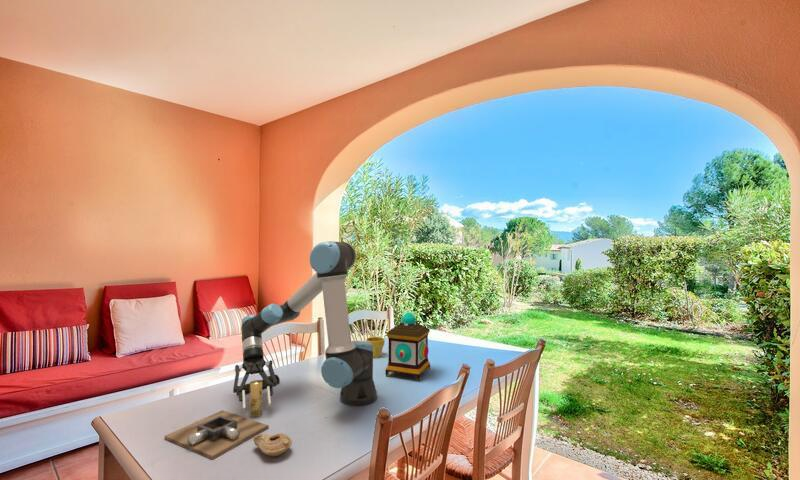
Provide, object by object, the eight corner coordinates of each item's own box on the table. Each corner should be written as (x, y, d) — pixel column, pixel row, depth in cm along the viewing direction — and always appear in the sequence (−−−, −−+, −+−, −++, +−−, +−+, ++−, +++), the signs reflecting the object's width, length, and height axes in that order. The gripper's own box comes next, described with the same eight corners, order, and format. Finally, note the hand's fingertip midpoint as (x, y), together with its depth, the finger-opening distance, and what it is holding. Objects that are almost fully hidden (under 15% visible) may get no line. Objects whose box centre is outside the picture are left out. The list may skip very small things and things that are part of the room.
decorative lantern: (381, 377, 176) (381, 314, 177) (397, 364, 195) (397, 307, 195) (421, 383, 169) (421, 317, 169) (433, 370, 187) (434, 310, 187)
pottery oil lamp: (263, 439, 119) (275, 418, 120) (287, 463, 113) (299, 441, 114) (243, 442, 111) (255, 420, 112) (267, 468, 105) (280, 444, 106)
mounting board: (268, 428, 127) (268, 425, 127) (212, 459, 108) (212, 456, 108) (222, 412, 138) (222, 410, 138) (164, 439, 119) (164, 435, 119)
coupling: (264, 413, 138) (265, 381, 138) (255, 418, 134) (255, 385, 134) (256, 411, 140) (256, 379, 140) (246, 415, 136) (247, 383, 136)
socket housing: (247, 433, 121) (247, 424, 121) (209, 454, 109) (209, 443, 109) (220, 424, 127) (220, 415, 127) (182, 442, 116) (182, 432, 116)
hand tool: (238, 397, 153) (238, 386, 153) (235, 394, 156) (235, 383, 156) (282, 385, 166) (282, 375, 166) (278, 383, 169) (278, 373, 169)
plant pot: (383, 359, 204) (383, 341, 204) (365, 358, 204) (365, 341, 204) (384, 353, 214) (384, 336, 214) (367, 353, 215) (367, 336, 215)
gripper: (278, 352, 155) (285, 406, 141) (224, 359, 146) (224, 417, 131) (280, 343, 151) (287, 397, 136) (224, 349, 141) (225, 408, 127)
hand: (256, 407), depth 134 cm, fingers open, 8 cm apart
